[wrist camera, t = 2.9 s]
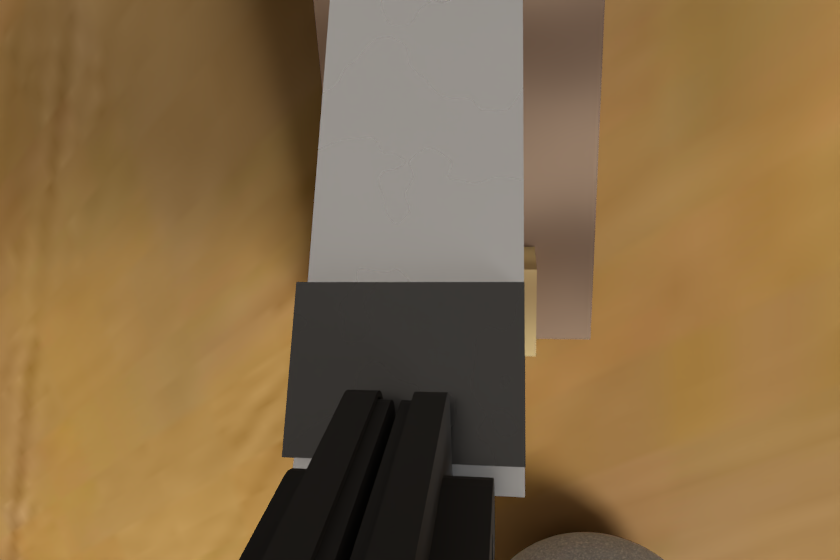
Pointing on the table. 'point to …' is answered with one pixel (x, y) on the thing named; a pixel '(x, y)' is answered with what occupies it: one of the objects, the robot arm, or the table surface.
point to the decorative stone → (585, 548)
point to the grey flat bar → (418, 228)
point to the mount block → (553, 160)
